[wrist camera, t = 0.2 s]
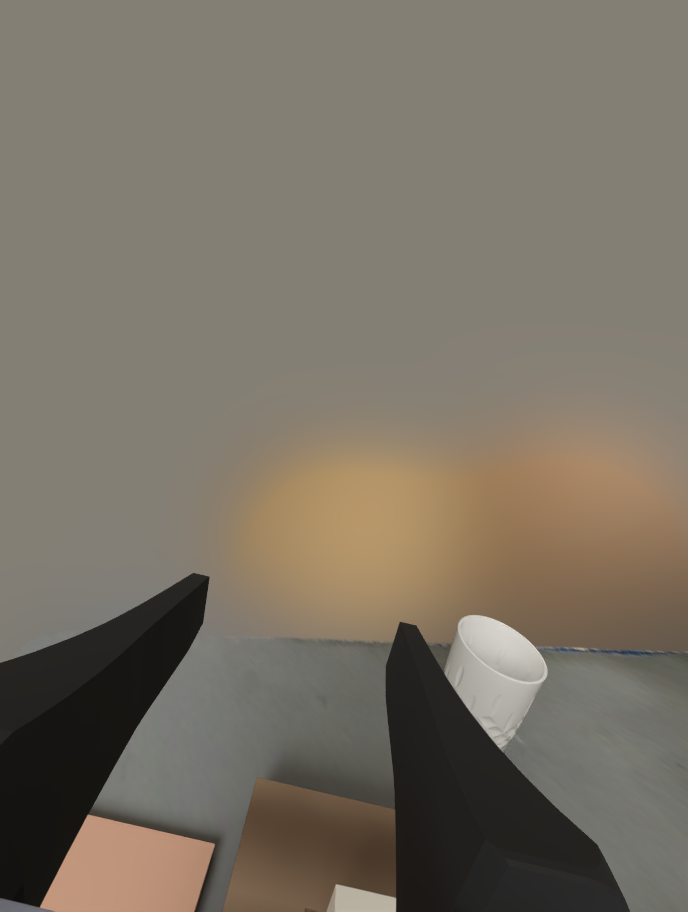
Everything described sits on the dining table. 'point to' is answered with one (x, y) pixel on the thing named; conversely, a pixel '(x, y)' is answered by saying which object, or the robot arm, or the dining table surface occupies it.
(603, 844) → the dining table surface
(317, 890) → the brown board with hole
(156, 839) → the tile
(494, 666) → the white cup
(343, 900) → the plug
